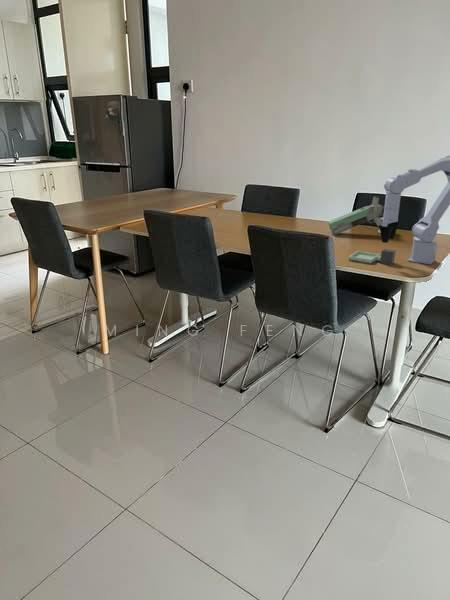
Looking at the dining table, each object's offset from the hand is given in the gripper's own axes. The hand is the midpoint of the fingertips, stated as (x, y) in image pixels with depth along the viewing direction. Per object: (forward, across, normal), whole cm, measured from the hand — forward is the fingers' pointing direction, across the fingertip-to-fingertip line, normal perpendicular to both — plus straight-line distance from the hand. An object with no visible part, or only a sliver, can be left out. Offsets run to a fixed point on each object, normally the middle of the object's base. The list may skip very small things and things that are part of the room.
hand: (387, 240), depth 189 cm
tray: (+9, +1, -9) cm, 13 cm away
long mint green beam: (+10, -45, -28) cm, 54 cm away
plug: (+10, +1, +1) cm, 10 cm away
